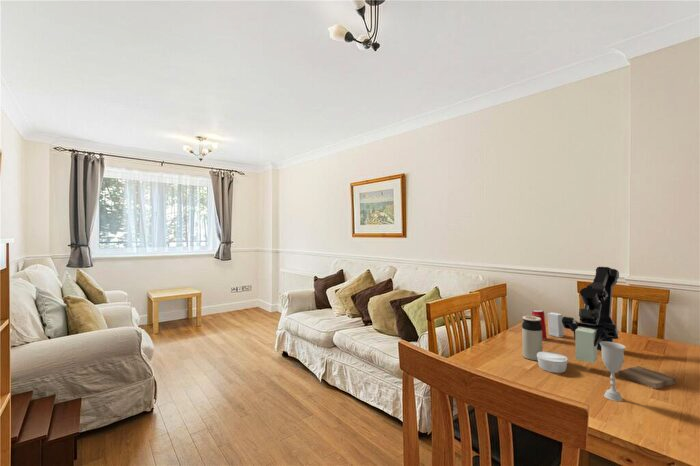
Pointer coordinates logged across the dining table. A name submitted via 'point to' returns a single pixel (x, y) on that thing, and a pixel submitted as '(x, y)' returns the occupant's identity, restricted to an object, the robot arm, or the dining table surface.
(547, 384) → the dining table surface
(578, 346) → the sage block
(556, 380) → the dining table surface
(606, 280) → the robot arm
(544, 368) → the ramekin
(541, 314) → the beverage can
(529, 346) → the travel mug
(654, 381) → the walnut board
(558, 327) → the skincare box
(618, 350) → the chalice
